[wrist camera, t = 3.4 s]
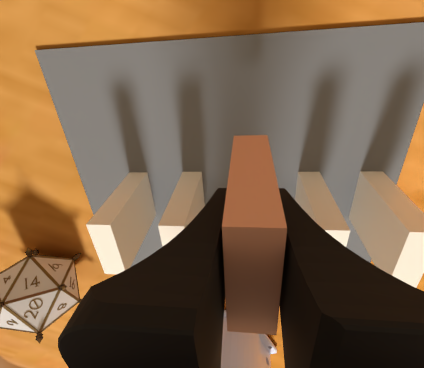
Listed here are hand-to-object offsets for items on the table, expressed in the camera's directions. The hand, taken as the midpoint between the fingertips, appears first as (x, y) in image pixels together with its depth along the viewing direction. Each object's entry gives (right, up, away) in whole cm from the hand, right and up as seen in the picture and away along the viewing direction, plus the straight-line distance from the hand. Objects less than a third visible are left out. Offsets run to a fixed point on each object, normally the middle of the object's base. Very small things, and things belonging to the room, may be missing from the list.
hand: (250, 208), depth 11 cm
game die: (-19, -7, +19) cm, 27 cm away
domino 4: (+6, 0, +10) cm, 12 cm away
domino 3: (0, +1, +3) cm, 3 cm away
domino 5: (+11, 0, +10) cm, 14 cm away
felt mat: (0, +1, +11) cm, 11 cm away
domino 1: (-8, 0, +12) cm, 14 cm away
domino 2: (-3, 0, +12) cm, 12 cm away
